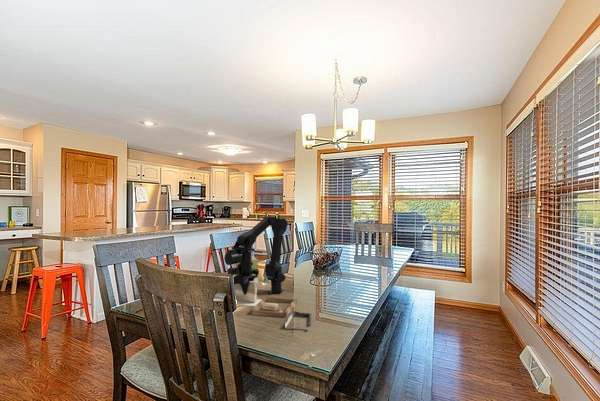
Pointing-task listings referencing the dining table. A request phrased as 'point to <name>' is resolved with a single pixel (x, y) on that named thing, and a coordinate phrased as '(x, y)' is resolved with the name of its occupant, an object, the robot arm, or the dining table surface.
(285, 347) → the dining table surface
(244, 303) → the mat
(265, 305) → the offcut top
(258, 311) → the rack
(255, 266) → the tea box
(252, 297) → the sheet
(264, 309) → the offcut middle
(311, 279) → the dining table surface
